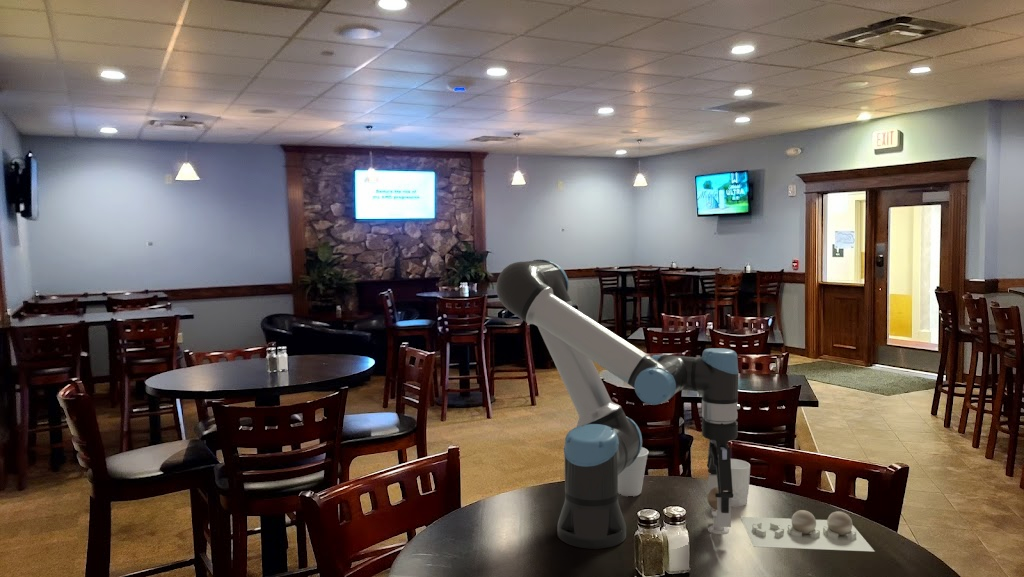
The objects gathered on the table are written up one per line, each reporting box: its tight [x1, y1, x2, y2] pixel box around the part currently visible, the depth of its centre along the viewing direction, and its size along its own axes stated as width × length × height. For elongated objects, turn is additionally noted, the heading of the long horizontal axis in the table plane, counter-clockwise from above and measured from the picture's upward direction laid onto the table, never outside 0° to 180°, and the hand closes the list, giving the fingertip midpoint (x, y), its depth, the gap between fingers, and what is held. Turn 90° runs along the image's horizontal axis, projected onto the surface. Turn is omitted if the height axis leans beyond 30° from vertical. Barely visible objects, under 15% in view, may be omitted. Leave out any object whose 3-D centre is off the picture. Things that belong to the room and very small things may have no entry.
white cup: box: [731, 458, 751, 507], centre depth 178 cm, size 8×8×10 cm
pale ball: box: [826, 510, 854, 535], centre depth 158 cm, size 5×5×5 cm
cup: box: [618, 446, 649, 497], centre depth 186 cm, size 10×10×11 cm
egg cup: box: [708, 505, 730, 535], centre depth 161 cm, size 4×4×5 cm
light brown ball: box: [706, 487, 728, 510], centre depth 161 cm, size 5×5×5 cm
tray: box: [740, 516, 876, 553], centre depth 159 cm, size 24×16×2 cm, turn 83°
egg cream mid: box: [791, 509, 817, 534], centre depth 159 cm, size 5×5×5 cm
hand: (719, 513), depth 161 cm, fingers open, 13 cm apart
